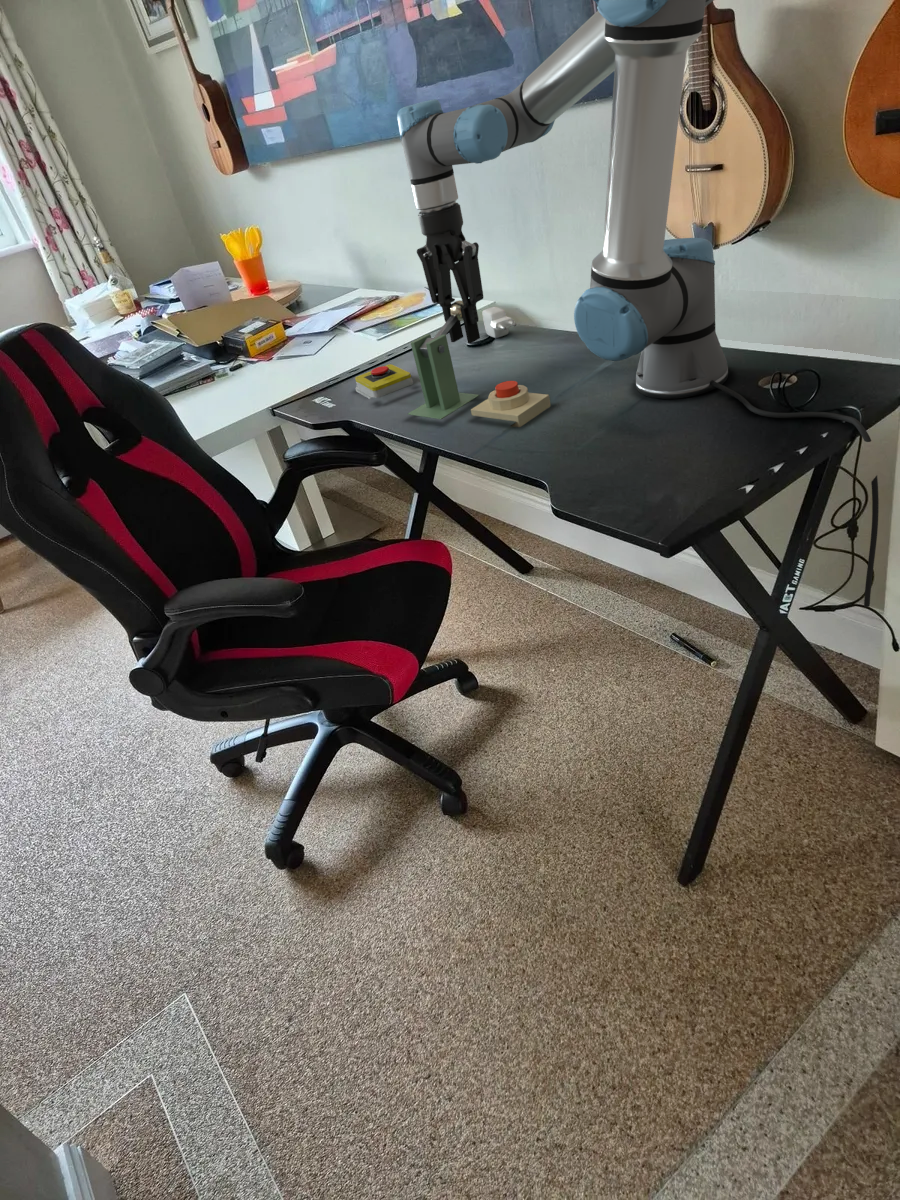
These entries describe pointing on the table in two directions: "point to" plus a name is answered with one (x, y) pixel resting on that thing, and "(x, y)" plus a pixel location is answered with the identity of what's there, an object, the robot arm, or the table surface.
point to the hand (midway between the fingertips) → (465, 339)
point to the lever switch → (445, 325)
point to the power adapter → (497, 322)
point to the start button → (507, 389)
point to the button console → (513, 406)
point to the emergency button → (382, 381)
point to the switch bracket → (437, 379)
